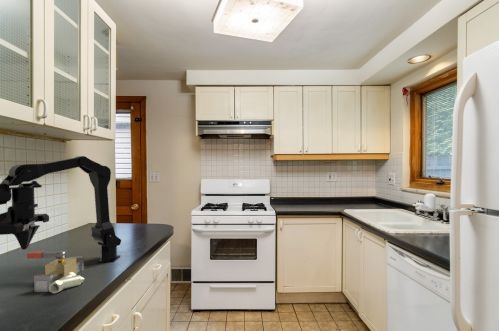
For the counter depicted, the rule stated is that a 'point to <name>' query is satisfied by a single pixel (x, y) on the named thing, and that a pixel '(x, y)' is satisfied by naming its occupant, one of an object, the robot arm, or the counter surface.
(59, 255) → the lever
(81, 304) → the counter surface
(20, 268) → the counter surface
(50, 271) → the valve
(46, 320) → the counter surface
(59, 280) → the pipe fitting
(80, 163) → the robot arm
